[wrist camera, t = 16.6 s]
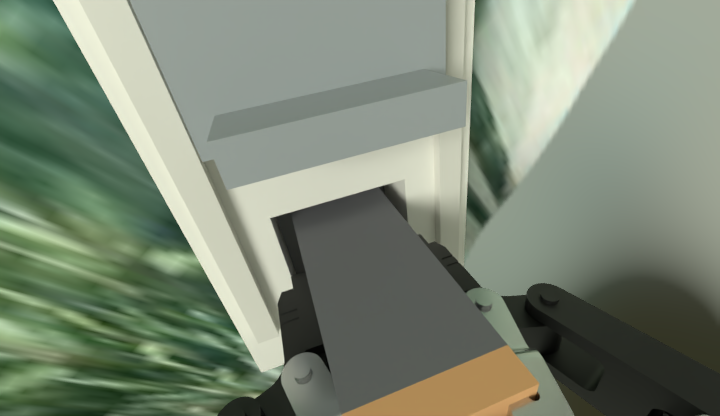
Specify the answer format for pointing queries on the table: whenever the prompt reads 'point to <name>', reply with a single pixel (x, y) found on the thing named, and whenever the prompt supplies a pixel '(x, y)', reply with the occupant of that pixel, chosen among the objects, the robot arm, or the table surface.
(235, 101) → the grey l-shaped block
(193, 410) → the table surface
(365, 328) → the plug
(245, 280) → the socket block
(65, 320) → the table surface
